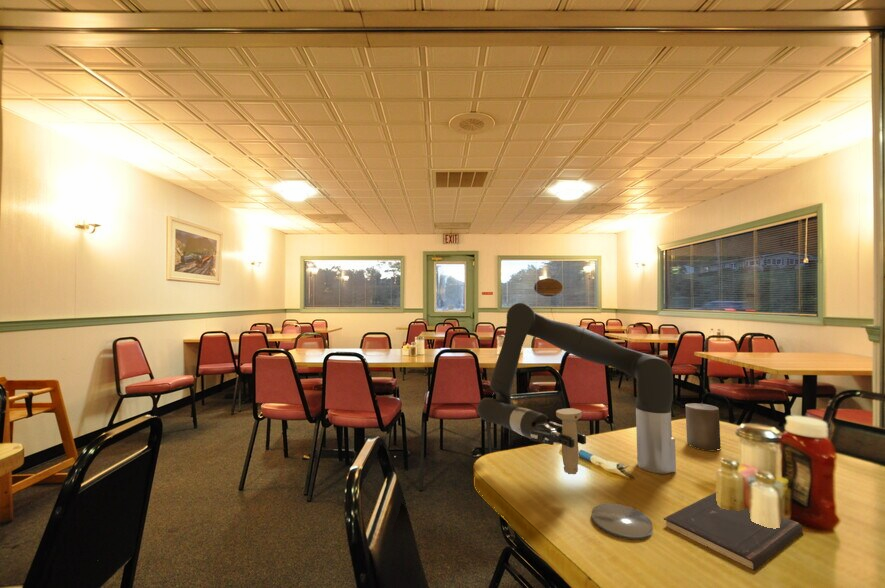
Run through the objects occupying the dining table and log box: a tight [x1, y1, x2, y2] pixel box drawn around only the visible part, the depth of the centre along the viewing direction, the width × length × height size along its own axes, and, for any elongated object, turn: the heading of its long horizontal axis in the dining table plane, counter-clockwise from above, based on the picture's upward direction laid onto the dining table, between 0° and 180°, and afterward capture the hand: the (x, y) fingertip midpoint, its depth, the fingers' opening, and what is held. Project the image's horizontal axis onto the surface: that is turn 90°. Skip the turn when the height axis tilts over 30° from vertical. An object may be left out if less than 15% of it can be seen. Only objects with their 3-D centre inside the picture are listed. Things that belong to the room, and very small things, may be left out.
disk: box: [591, 502, 654, 541], centre depth 81 cm, size 12×12×1 cm
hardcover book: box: [663, 491, 803, 571], centre depth 78 cm, size 16×23×2 cm
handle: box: [555, 408, 583, 475], centre depth 91 cm, size 5×6×15 cm
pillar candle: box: [684, 402, 722, 451], centre depth 127 cm, size 10×10×15 cm
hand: (579, 441), depth 89 cm, fingers closed on handle, 3 cm apart
